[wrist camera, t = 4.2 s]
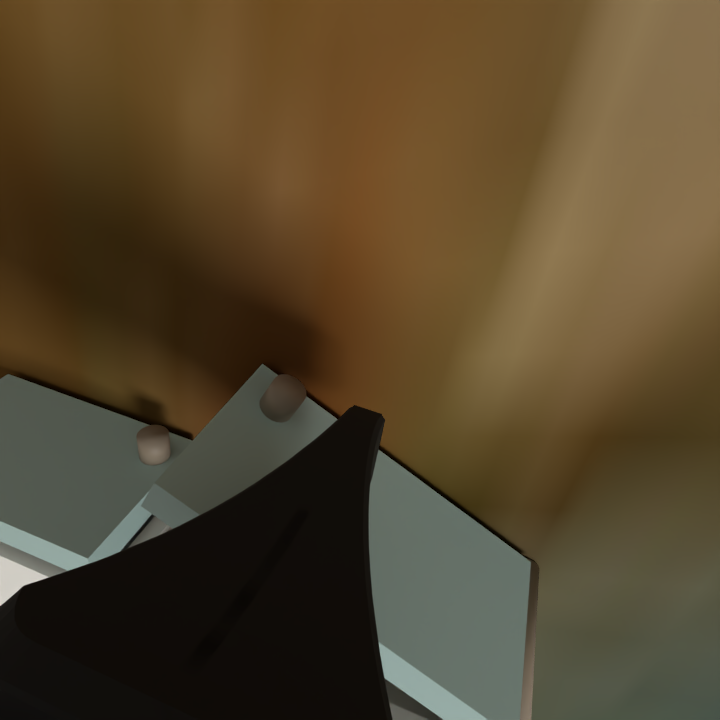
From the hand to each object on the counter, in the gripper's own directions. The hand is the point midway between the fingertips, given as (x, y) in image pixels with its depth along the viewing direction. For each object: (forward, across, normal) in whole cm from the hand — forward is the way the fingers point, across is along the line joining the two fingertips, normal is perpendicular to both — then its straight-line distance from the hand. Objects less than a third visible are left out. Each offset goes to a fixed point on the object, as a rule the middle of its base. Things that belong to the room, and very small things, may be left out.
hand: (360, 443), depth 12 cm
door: (+2, -1, +3) cm, 4 cm away
